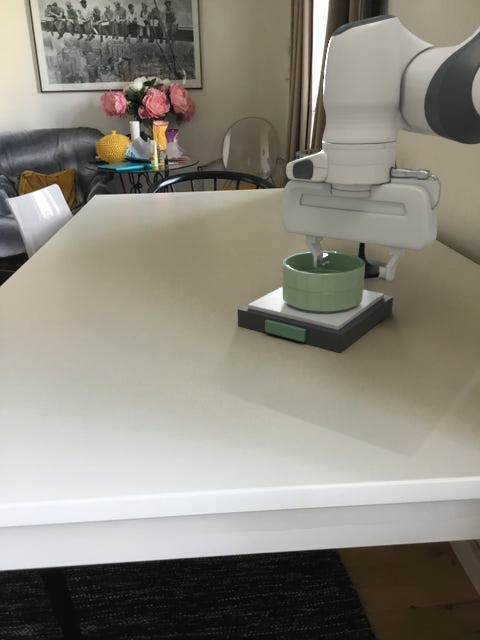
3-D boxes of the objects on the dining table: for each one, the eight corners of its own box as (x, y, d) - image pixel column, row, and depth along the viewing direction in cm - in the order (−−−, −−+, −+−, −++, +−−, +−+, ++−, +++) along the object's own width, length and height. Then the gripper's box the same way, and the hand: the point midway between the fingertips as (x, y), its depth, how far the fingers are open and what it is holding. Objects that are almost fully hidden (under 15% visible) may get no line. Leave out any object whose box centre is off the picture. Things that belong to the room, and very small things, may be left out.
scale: (392, 312, 82) (393, 292, 81) (338, 355, 70) (339, 331, 69) (297, 293, 91) (297, 274, 90) (235, 327, 79) (234, 306, 78)
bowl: (375, 295, 80) (377, 258, 78) (339, 320, 72) (341, 279, 70) (307, 282, 86) (308, 247, 84) (267, 304, 78) (266, 266, 76)
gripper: (451, 166, 66) (439, 279, 71) (300, 158, 77) (299, 256, 83) (433, 174, 61) (421, 294, 67) (275, 164, 73) (275, 267, 78)
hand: (352, 273), depth 75 cm, fingers open, 8 cm apart
